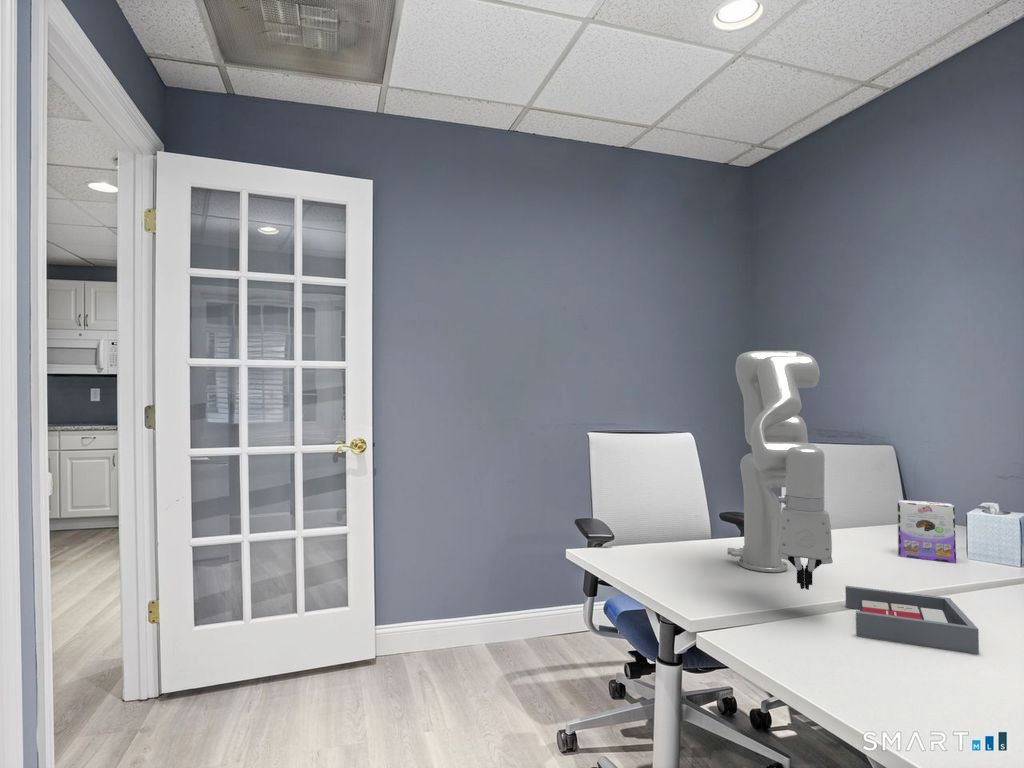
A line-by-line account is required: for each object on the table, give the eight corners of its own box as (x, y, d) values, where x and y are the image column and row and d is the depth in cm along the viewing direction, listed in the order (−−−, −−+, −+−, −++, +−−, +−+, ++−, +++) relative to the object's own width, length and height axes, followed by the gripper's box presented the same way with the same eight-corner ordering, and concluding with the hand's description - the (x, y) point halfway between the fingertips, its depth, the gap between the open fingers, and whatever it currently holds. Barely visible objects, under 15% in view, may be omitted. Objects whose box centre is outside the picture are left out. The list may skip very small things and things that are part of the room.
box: (856, 635, 112) (856, 612, 113) (845, 605, 129) (845, 585, 129) (978, 654, 104) (978, 629, 105) (950, 619, 121) (949, 598, 121)
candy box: (954, 559, 169) (953, 502, 169) (956, 563, 164) (955, 505, 164) (897, 552, 176) (896, 498, 177) (898, 556, 171) (897, 501, 172)
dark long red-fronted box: (859, 597, 125) (944, 607, 117) (860, 618, 125) (946, 629, 117) (859, 613, 115) (952, 625, 108) (861, 635, 115) (954, 648, 107)
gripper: (767, 503, 125) (766, 588, 125) (846, 510, 119) (845, 598, 119) (767, 497, 132) (767, 577, 132) (842, 503, 126) (841, 586, 126)
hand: (804, 587), depth 125 cm, fingers closed
